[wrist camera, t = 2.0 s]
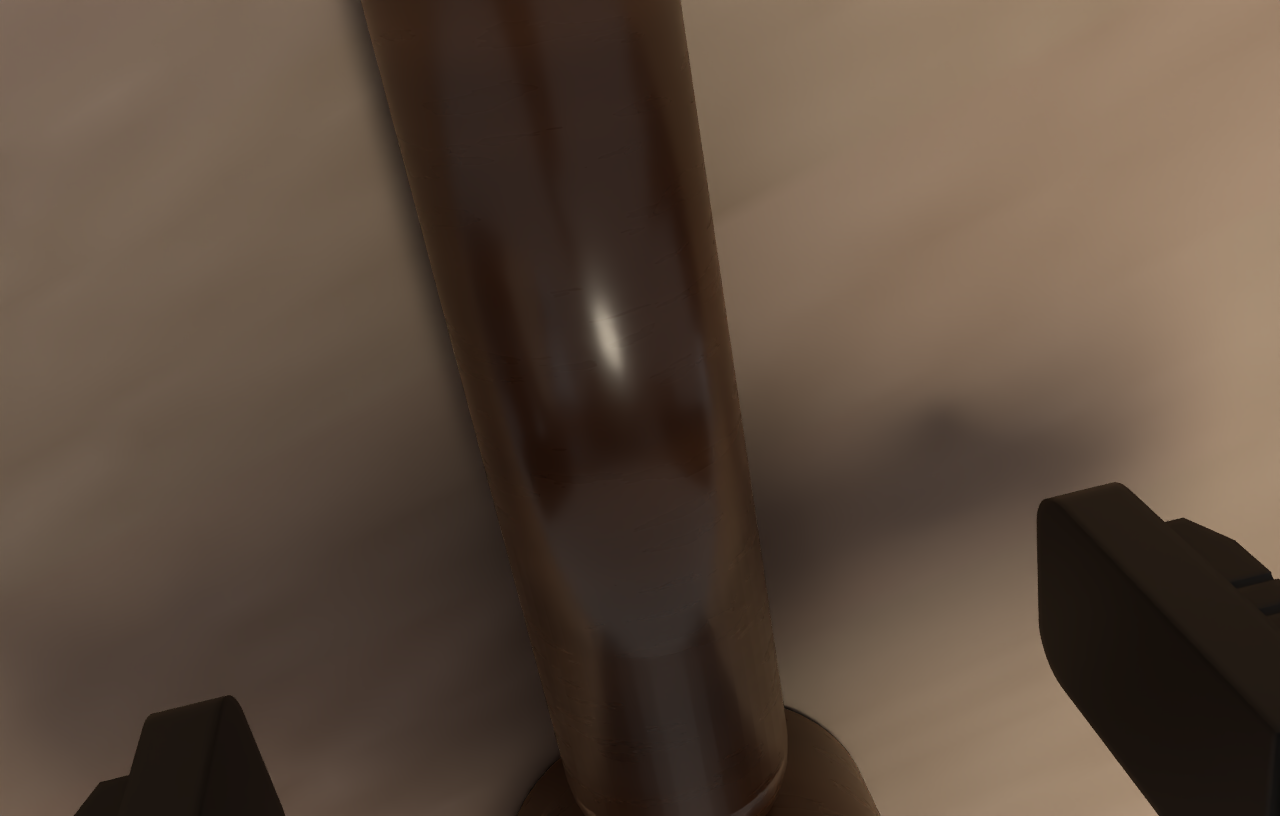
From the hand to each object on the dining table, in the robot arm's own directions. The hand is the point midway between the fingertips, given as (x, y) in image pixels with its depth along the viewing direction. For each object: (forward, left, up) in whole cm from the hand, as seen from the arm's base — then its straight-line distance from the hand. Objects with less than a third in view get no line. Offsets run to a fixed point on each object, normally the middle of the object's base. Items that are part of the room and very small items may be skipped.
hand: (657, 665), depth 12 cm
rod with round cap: (0, 0, -3) cm, 3 cm away
